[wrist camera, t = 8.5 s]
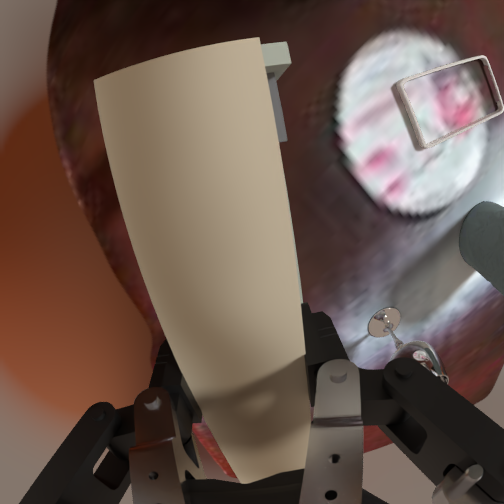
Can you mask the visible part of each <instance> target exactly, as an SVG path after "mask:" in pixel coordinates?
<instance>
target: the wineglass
mask: <svg viewBox="0 0 504 504" xmlns="http://www.w3.org/2000/svg"><path fill="white" fill-rule="evenodd" d="M400 319H401V316H400V313H399V311H398V310H397V309H395V308H392V307H389V308H384V309H382V310H380V311H379V312H377V313H376V314H375V315H374V316H373V317H372V319H371V320H370V322H369V326H368V329H369V332H370V334H371V335H372V336H374V337H384V336H387V335H389V334H390V335H391V336H392V338H393V340H394V342H395V347H396V349H397V350H396V351H395V353H394V354H393V355H392V357H391V359H390V361H391V360H393V359H396V358H400V357H407V358H412V359H414V360H416V361H418V362H419V363H420V364H422V365H423V366H424V367H425V368H427V369H428V370H429V371H431V372H432V373H433V374H434V375H436V376H437V377H438V378H440V379H441V380H442V381H443V382H445V383H446V384H448V380H449V379H448V376H447V373H446V370H445V367H444V364H443V362H442V360H441V358H440V356H439V354H438V353H437V351H436V350H435V349H434V348H433V347H432V346H431V345H430V344H428V343H426V342H423V341H411V342H408V343H406V344H404V343H403V342H402V341H401V340H399V339H398V338H397V337H396V335H395V334H394V332H393V331H394V330H395V329H396V328H397V326H398V325H399V323H400ZM390 361H389V362H390Z"/></svg>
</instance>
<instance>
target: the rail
mask: <svg viewBox="0 0 504 504" xmlns="http://www.w3.org/2000/svg"><path fill="white" fill-rule="evenodd" d="M94 86H95V93H96V99H97V105H98V110H99V116H100V121H101V126H102V132H103V136H104V141H105V146H106V150H107V155H108V159H109V164H110V168H111V172H112V176H113V180H114V184H115V188H116V192H117V195H118V199H119V203H120V206H121V210H122V213H123V217H124V220H125V223H126V227H127V230H128V233H129V237H130V240H131V243H132V246H133V249H134V252H135V255H136V258H137V261H138V264H139V267H140V270H141V273H142V276H143V279H144V281H145V284H146V287H147V290H148V292H149V295H150V298H151V300H152V303H153V306H154V308H155V311H156V313H157V316H158V319H159V321H160V324H161V326H162V328H163V331H164V333H165V336H166V338H167V340H168V343H169V345H170V348H171V350H172V352H173V354H174V357H175V359H176V361H177V363H178V366H179V368H180V370H181V372H182V374H183V376H184V378H185V380H186V382H187V384H188V386H189V388H190V390H191V392H192V394H193V396H194V398H195V400H196V402H197V403H198V405H199V407H200V409H201V411H202V415H203V417H204V419H205V421H206V423H207V425H208V427H209V429H210V430H211V432H212V434H213V436H214V438H215V440H216V441H217V443H218V445H219V447H220V449H221V450H222V452H223V454H224V456H225V457H226V459H227V461H228V462H229V464H230V466H231V468H232V469H233V471H234V473H235V474H236V476H237V477H238V479H239V480H240V482H241V483H242V484H248V483H251V482H255V481H258V480H261V479H263V478H266V477H269V476H272V475H275V474H277V473H280V472H286V471H292V470H298V469H303V468H305V463H306V456H307V448H308V441H309V433H310V426H311V417H310V402H309V394H308V385H307V375H306V366H305V358H304V354H306V352H305V341H304V331H303V321H302V311H301V302H300V293H299V284H298V275H297V267H296V259H295V251H294V243H293V235H292V228H291V220H290V213H289V206H288V199H287V192H286V185H285V179H284V172H283V166H282V159H281V153H280V147H279V141H278V135H277V129H276V123H275V117H274V112H273V106H272V100H271V95H270V90H269V84H268V79H267V74H266V69H265V64H264V59H263V54H262V49H261V44H260V39H259V37H257V38H249V39H242V40H236V41H229V42H224V43H218V44H213V45H208V46H203V47H198V48H194V49H190V50H185V51H181V52H177V53H173V54H170V55H166V56H162V57H159V58H155V59H152V60H149V61H146V62H142V63H139V64H136V65H133V66H130V67H127V68H124V69H122V70H119V71H116V72H113V73H111V74H108V75H106V76H103V77H101V78H98V79H96V80H94Z"/></svg>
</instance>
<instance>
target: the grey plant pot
mask: <svg viewBox="0 0 504 504" xmlns="http://www.w3.org/2000/svg"><path fill="white" fill-rule="evenodd" d="M459 247H460V252H461V255H462V257H463V259H464V260H465V261H466V262H467V263H468V264H469V265H470V266H472V267H473V268H474V269H475V270H476V271H477V272H479V273H480V274H481V275H482V276H483V277H484V278H485V279H486V280H487V281H489V282H491V284H492V285H493V286H494V287H495V288H496V289H497V290H498V291H499V292H500V293H501V294H502V295H503V296H504V207H502V206H500V205H499V204H496V203H493V202H488V201H486V202H485V201H483V202H481V203H479V204H478V205H476V206H475V207H474V208H473V209H472V210H471V211H470V213H469V214H468V216H467V217H466V219H465V220H464V223H463V225H462V228H461V233H460V239H459Z"/></svg>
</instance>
